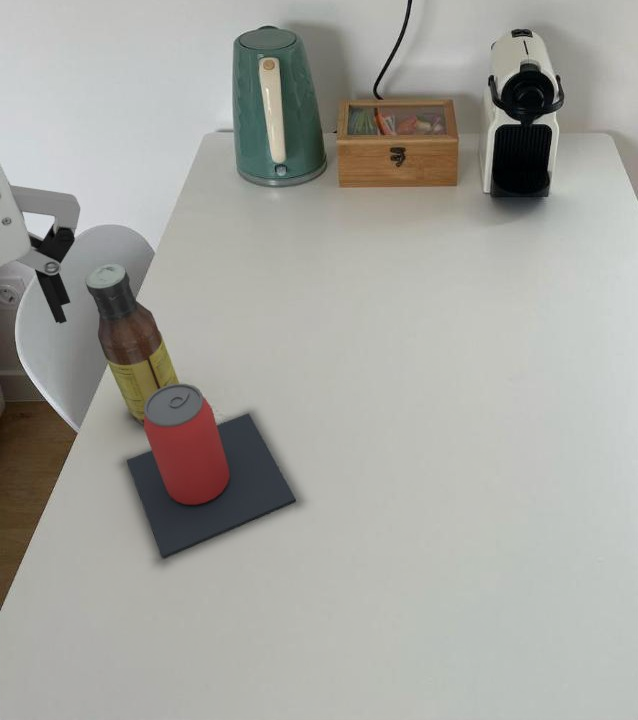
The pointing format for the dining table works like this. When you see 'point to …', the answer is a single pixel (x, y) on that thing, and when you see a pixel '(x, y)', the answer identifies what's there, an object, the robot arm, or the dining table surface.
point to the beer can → (186, 444)
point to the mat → (231, 507)
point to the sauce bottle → (129, 338)
